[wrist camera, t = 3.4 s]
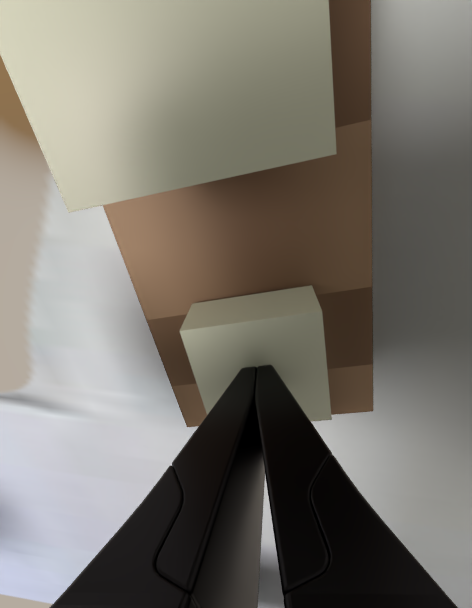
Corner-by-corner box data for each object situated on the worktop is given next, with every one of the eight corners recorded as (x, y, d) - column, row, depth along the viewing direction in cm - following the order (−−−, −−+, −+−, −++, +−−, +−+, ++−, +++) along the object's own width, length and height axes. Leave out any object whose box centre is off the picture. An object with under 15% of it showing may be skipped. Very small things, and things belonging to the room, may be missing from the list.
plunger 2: (227, 343, 13) (212, 429, 9) (208, 269, 12) (179, 331, 8) (308, 333, 13) (331, 419, 9) (299, 253, 11) (322, 311, 7)
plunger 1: (166, 184, 8) (69, 213, 4) (118, 18, 7) (-113, -208, 3) (295, 155, 8) (337, 154, 4) (275, -32, 6) (306, -424, 2)
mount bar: (200, 376, 14) (187, 427, 12) (78, -6, 8) (-7, -82, 6) (350, 359, 13) (373, 411, 11) (330, -93, 7) (368, -235, 5)
